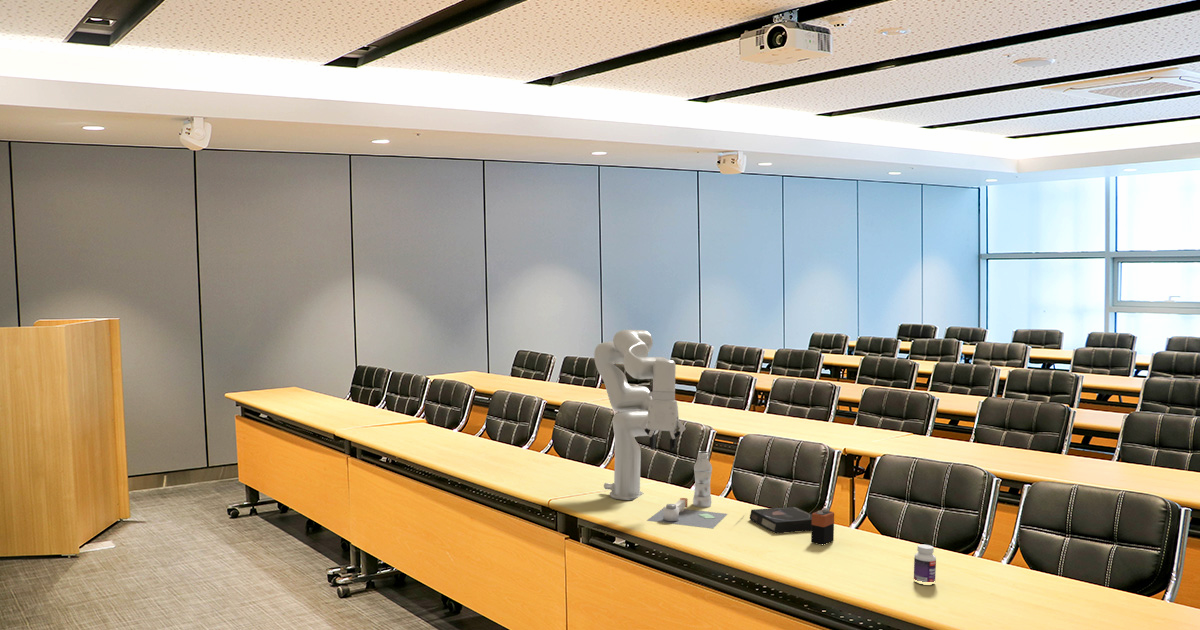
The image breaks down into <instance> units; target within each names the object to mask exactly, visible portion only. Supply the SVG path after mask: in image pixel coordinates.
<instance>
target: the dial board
mask: <svg viewBox="0 0 1200 630" xmlns="http://www.w3.org/2000/svg"><path fill="white" fill-rule="evenodd" d="M727 515H728V513H723V512H716V511H715V512H714V511H705V510H697V509H688V508H684V509H682V510H681V511H680V512H679V520H678V521H666V520H664V519H663V508H661V509H660V510H659V511H657V512H656V513H655V514H654V515H652V516H651V517H649V518H648V519H647V520H646V522H655V523H662V524H663V523H664V524H672V525H679V526H688V527H697V528H703V529H704V528H705V529H714V528H715V527H717V526H718V524H719V523H721V522H722V520H724V518H725V517H727Z"/></svg>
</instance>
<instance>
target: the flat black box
mask: <svg viewBox="0 0 1200 630" xmlns="http://www.w3.org/2000/svg"><path fill="white" fill-rule="evenodd" d="M812 514H813V513H812ZM812 514H811V513H810V512H807V511H805V510H803V509H801V508H798V507H796V506H787V507H771V508H759V509H758V508H757V509H756V508H755V509H754V508H753V509H750V514H749V519H750V521H751V522H753V523H755V524H756V525H758V524H759V525H758V526H760V527H762V528H763V529H766V530H768V531H769V532H771V531H772V533H773V532H774V534H775V533H776V534H785V533H784V532H789V533H796V532H795V531H802V532H811V528H812Z"/></svg>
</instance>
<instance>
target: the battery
mask: <svg viewBox="0 0 1200 630" xmlns="http://www.w3.org/2000/svg"><path fill="white" fill-rule="evenodd" d="M834 531H835V512H833V511H832V510H831V511H830V509H829V507H823V508H822V509H821V510H817V511H816V512H812V528H811V531H810V532H811V535H810V536H811V538H810V542H811V543H812V544H814V543H817V544H816V545H819V544H823V545H822V546H825V545H827V544H826V543H828V544H829V542H830V543H832V542H834V539H835V538H834V536H835V535H834V534H835V532H834ZM831 541H832V542H831ZM824 544H825V545H824Z"/></svg>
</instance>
